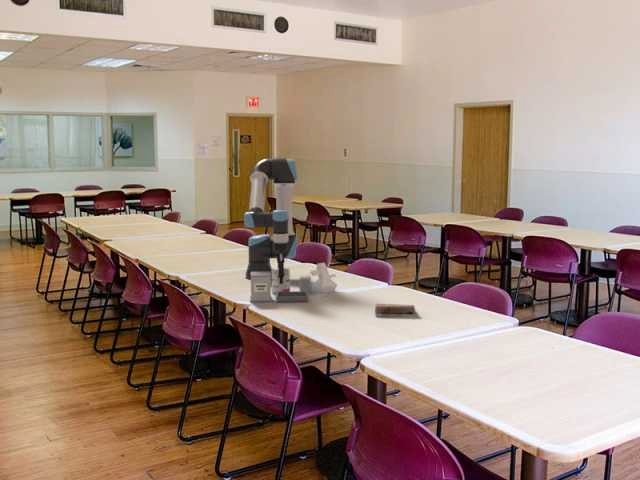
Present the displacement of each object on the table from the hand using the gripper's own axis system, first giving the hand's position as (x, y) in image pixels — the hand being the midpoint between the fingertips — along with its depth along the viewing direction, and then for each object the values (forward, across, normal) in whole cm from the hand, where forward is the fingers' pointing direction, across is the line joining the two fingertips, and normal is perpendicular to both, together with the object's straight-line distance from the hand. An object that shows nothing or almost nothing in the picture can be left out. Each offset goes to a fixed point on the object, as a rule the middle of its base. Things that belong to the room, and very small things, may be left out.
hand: (280, 288), depth 323 cm
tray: (+2, +15, +4) cm, 16 cm away
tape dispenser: (+2, -2, +22) cm, 22 cm away
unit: (+2, +15, -10) cm, 18 cm away
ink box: (+2, 0, 0) cm, 2 cm away
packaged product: (+3, +48, +47) cm, 67 cm away
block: (+2, 0, +12) cm, 12 cm away
